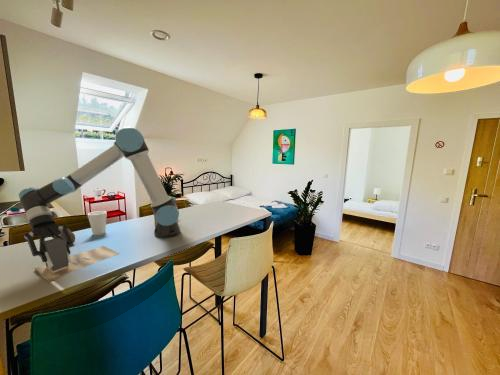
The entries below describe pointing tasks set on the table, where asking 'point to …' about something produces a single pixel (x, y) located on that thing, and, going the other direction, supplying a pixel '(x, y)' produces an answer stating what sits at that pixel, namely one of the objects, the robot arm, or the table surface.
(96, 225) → the foam cup
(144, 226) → the table surface
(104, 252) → the board
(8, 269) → the table surface
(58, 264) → the block
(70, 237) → the vase
